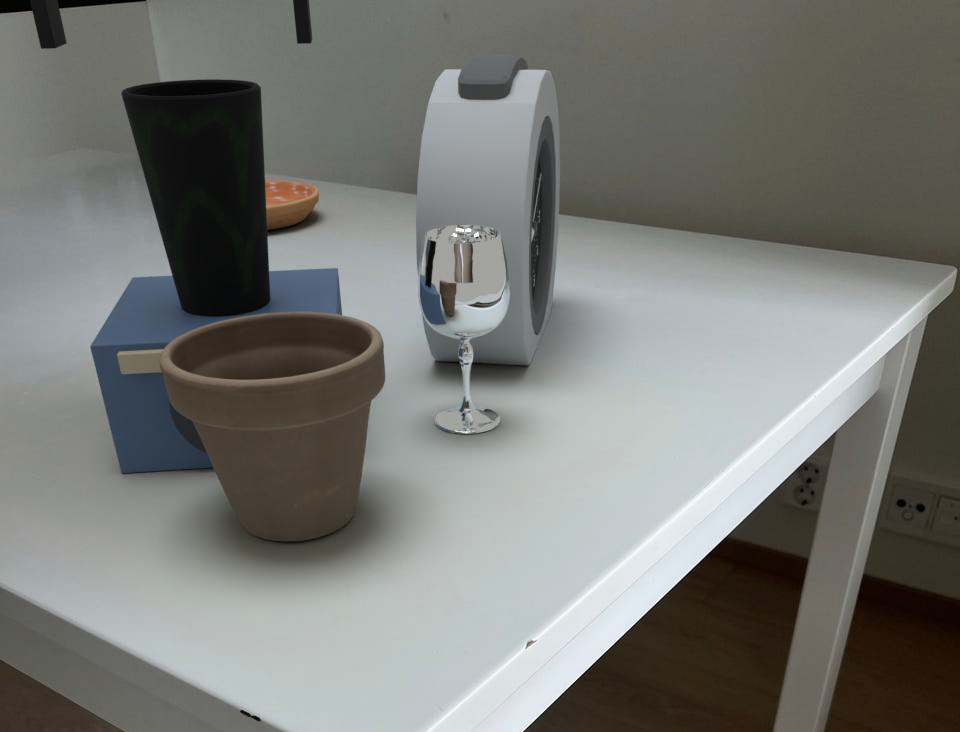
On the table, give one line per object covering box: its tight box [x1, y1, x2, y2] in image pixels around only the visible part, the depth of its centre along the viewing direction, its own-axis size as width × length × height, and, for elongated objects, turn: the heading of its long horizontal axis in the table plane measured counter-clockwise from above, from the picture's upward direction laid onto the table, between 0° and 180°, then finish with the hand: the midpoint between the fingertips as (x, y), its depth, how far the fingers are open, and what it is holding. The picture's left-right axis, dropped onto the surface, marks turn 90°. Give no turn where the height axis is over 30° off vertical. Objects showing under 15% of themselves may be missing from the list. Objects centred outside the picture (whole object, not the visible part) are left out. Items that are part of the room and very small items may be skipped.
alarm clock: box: [415, 53, 561, 366], centre depth 76 cm, size 21×8×20 cm, turn 170°
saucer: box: [265, 179, 320, 231], centre depth 114 cm, size 16×16×3 cm
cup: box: [120, 78, 270, 317], centre depth 60 cm, size 8×8×12 cm
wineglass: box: [417, 225, 510, 435], centre depth 64 cm, size 6×6×12 cm
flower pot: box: [159, 312, 386, 542], centre depth 54 cm, size 12×11×10 cm
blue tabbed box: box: [89, 267, 343, 474], centre depth 65 cm, size 14×14×8 cm
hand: (181, 44), depth 55 cm, fingers open, 13 cm apart
